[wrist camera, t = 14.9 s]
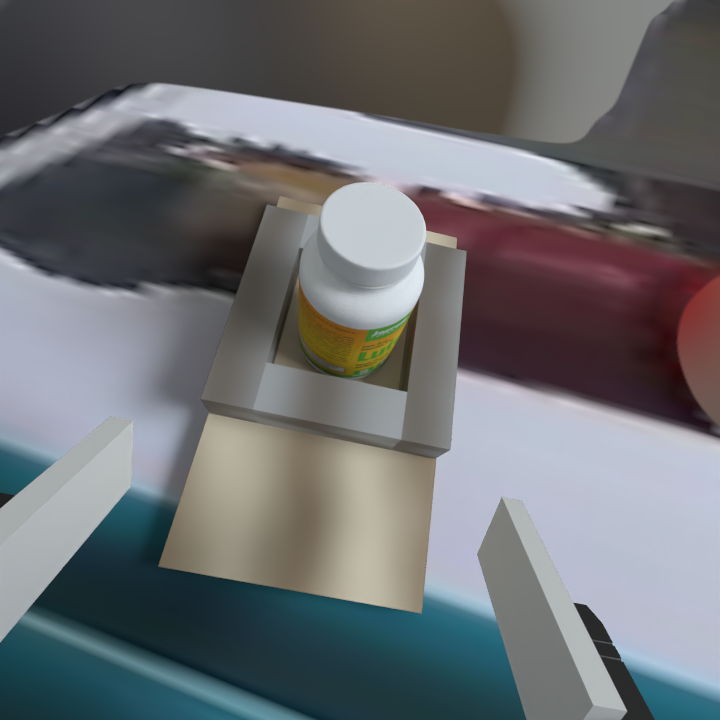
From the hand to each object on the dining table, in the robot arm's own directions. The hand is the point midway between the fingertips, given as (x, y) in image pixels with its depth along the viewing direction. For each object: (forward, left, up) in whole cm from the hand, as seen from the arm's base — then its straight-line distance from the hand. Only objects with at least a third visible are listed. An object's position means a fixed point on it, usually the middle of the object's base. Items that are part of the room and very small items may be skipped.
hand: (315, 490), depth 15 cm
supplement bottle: (0, -9, -6) cm, 11 cm away
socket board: (0, -7, -7) cm, 10 cm away
